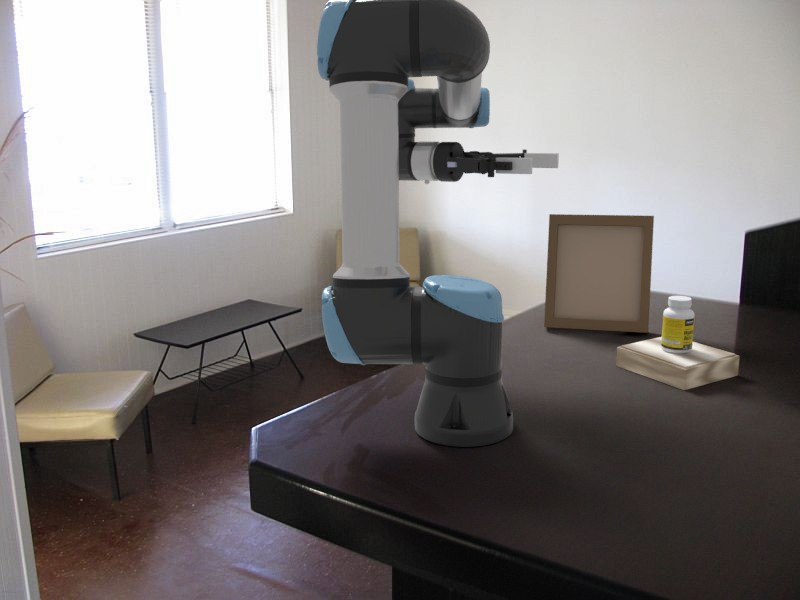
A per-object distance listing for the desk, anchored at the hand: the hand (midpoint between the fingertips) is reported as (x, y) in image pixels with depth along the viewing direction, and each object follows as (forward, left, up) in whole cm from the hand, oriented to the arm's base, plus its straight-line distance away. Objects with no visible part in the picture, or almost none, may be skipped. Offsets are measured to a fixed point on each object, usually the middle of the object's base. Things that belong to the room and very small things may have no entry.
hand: (545, 163), depth 143 cm
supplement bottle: (+18, -16, -34) cm, 42 cm away
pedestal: (+18, -16, -38) cm, 45 cm away
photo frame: (+28, +15, -38) cm, 50 cm away
